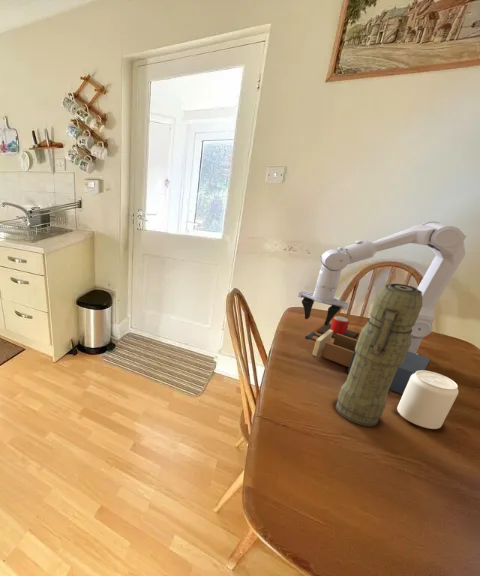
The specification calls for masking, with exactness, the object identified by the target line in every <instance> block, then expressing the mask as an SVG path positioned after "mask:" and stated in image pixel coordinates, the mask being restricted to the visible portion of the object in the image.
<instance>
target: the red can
mask: <svg viewBox="0 0 480 576" xmlns="http://www.w3.org/2000/svg"><path fill="white" fill-rule="evenodd" d="M349 323H350V319H348V318H347V317H344V316H341V315H336V316H335V315H334V316H333V318H332V320H331V323H330V324H331V328H330V330H333V333H334V334H337V333H338V334H341V335H345V333H346V330H348V327H349Z"/></svg>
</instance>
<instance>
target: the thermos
mask: <svg viewBox="0 0 480 576" xmlns="http://www.w3.org/2000/svg"><path fill="white" fill-rule="evenodd" d="M417 288H418V287H414V286H411V285H407V284H403V283H389V284H385V285H384V286H383V287H382V288H381V289H380V290H379V291H378V293H377V294H376V296H375V299H374V302H373V305H372V308H371V311H370V313H369V316H370V317H369V318H368V319H367V322H366V324H365V325H363V327H362V328H361V329H360V332H359V335H358V338H357V340H358V341H357V344H356V347H355V352H356V354H355V357H354V360H353V363H352V366H351V369H350V372H349V373H348V375H347V378H346V380H345V382H344V383H343V384H342V385H341V387H340V389H339V392H338V395H337V402H336V404H335V409H336V411H337V413H338V414H340V415H341V416H342V417H343V418H344V419H346V420H348V421H350V422H352V423H354V424H356V425H361V426H365V427H374V426H376V425H378V423H379V419H380V417H382V416H383V413H384V411H385V408H386V405H387V399H386V398H387V395H388V393H389V391H390V389H389V388H390V386H391V383H392V381H393V378H394V376H395V374H396V371H397V369H398V366H400V365H401V364H403V362H404V359H405V357H406V355H407V352H408V350H409V347H410V345H411V336H410V335H411V332H412V327H413V326H414V325H415V323H416V320H417V318H418V315H419V313H420V310H421V308H422V292H421V291H420V290H418V289H417Z"/></svg>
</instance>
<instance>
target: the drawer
mask: <svg viewBox="0 0 480 576" xmlns="http://www.w3.org/2000/svg"><path fill="white" fill-rule="evenodd" d="M332 334H333V330H330V329H329V330H328V331H327V332H325V333H324V334H322V335H320V334H317V333H316V332H315V331H310V332H309V333H308V334H307V335H305V336H304V339H305V340H310V341H313V342H315V343H314V347H313V350H312V353H311V355H312V356H315V357H317V356H318V355H319V354H320V353H321V352H322V354H321V358H324V359H326V360H329V361H332V362H335V363H338V364H339V365H342V366H344V367H348V368H349V366H350V363H351V360H352V357H353V354H354V351H355V347H356V344H357V341H358V339H356V338H350V337H347V336H344V335H341V334H338V333H337V334H336V336H335V338H334V340H333V342H332V343H331V340H332V338H333V337H332ZM314 337H317V338H314Z"/></svg>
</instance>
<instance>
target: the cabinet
mask: <svg viewBox="0 0 480 576" xmlns="http://www.w3.org/2000/svg"><path fill="white" fill-rule="evenodd" d="M355 354H356V352H355V351H354V354H353V357H352V360H351V363H350V366H349V367H348V369H347V373H348V374H349V372H350V369H351V366H352V363H353V360H354V357H355ZM418 354H419V353H417V354H414V353H411V352H407V355H406V357H405V359H404V362H403V364H401V365H400V366H398V369H397V371H396V374H395V376H394V378H393V381H392V383H391V386H390V388H389V391H390V390H391V391H393V392H396V393H397V394H400V395H403V393H404V391H405V388H406V386H407V384H408V381H409V379H410V377H411V375H412V374H414V373H415V372H416V371H419V370H425V371H427V368H428V365H429V362H430V361H431V358H429V357H427V356H424V355H421V354H419V355H418Z"/></svg>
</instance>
